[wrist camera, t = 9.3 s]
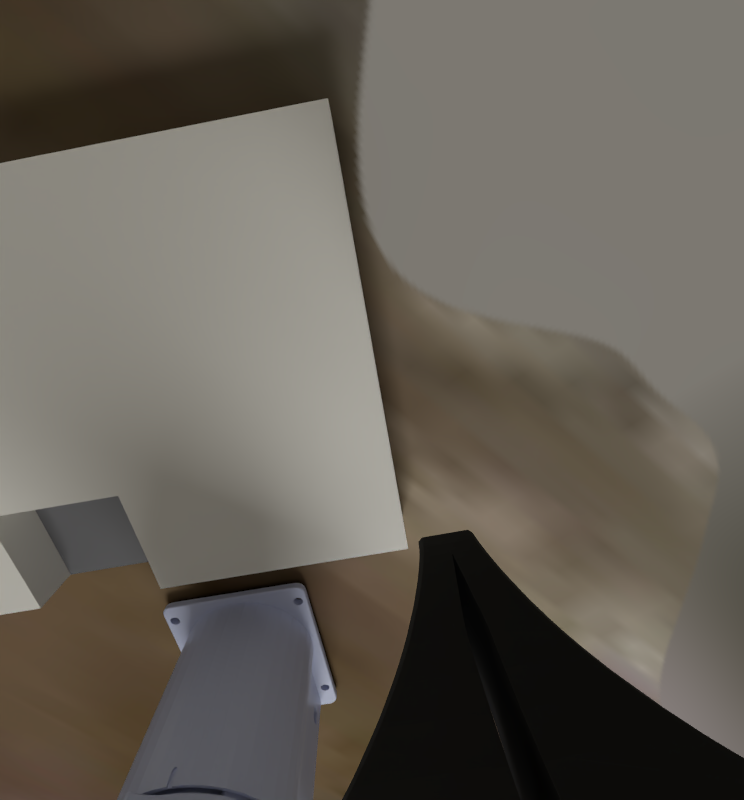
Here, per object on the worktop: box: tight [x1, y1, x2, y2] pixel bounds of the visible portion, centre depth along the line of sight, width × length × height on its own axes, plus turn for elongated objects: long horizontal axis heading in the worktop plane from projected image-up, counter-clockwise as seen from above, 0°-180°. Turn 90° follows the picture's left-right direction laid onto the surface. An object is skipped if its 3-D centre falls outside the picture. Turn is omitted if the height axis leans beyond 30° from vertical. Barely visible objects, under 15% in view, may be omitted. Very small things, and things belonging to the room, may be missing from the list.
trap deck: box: [0, 98, 408, 615], centre depth 17 cm, size 18×30×4 cm, turn 100°
